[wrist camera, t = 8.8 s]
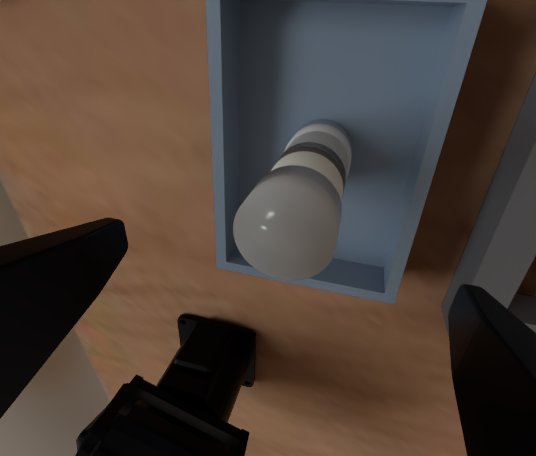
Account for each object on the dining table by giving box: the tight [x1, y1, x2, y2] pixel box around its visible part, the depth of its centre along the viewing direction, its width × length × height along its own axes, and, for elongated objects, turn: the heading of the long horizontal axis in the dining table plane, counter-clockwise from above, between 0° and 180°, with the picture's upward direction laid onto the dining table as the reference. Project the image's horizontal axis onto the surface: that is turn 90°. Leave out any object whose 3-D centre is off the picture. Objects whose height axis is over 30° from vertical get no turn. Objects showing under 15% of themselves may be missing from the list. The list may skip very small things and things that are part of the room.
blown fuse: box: [233, 119, 353, 281], centre depth 14 cm, size 3×3×9 cm
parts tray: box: [206, 0, 487, 304], centre depth 17 cm, size 14×10×3 cm
